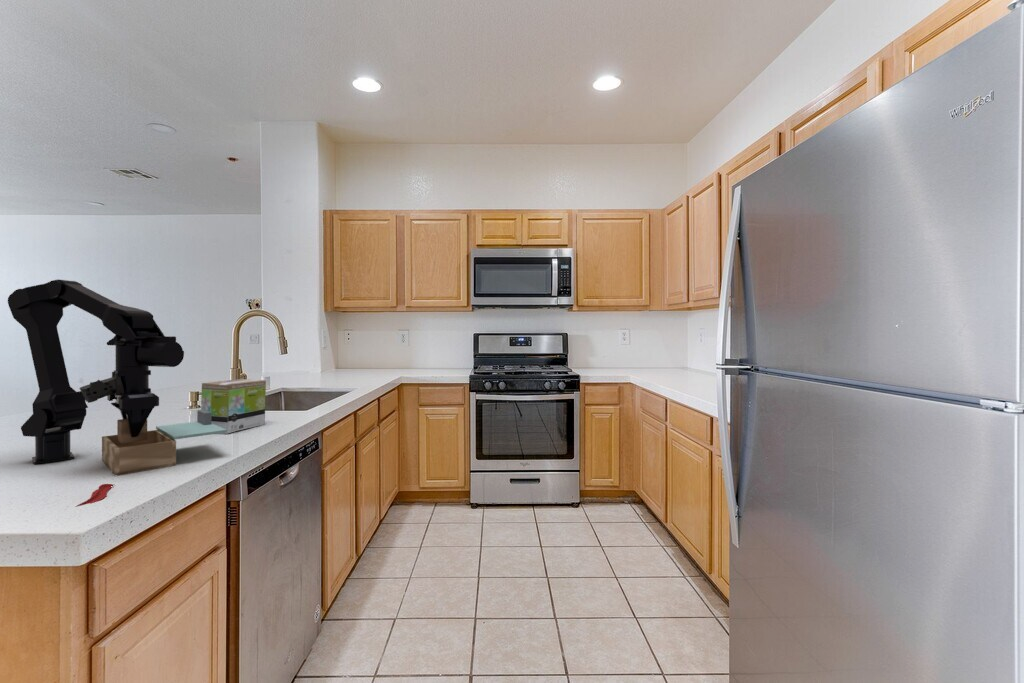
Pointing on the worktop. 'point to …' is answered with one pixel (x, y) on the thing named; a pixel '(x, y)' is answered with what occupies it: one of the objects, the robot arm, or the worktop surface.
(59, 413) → the robot arm
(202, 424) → the lid
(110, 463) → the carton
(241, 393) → the tea box
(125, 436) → the walnut block
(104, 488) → the cayenne pepper
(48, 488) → the worktop surface
